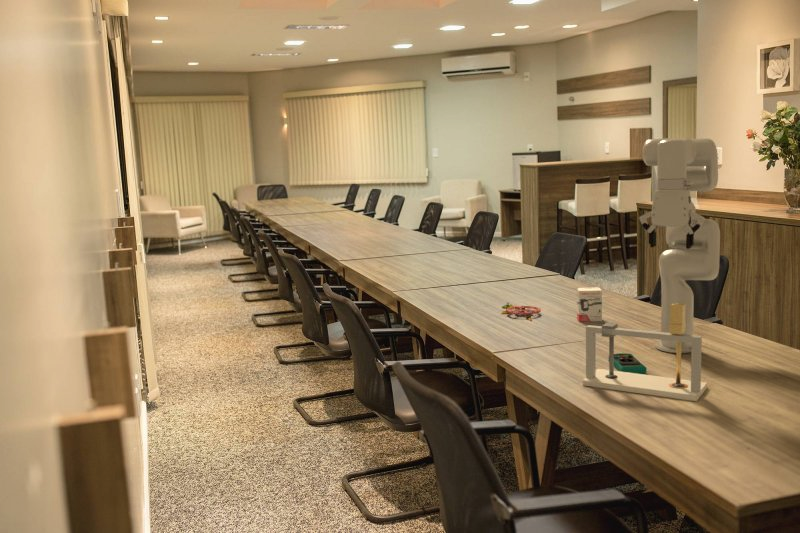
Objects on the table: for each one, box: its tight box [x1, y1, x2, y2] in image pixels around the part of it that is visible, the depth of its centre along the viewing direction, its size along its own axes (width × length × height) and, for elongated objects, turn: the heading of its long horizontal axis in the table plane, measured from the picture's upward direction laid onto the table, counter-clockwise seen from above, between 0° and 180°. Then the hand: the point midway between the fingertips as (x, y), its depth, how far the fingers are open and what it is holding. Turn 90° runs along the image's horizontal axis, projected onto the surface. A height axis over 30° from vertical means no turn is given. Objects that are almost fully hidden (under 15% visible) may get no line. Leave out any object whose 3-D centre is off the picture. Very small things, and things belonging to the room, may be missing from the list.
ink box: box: [576, 286, 603, 323], centre depth 291 cm, size 8×5×12 cm, turn 86°
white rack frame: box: [582, 321, 708, 402], centre depth 213 cm, size 12×30×17 cm, turn 57°
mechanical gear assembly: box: [501, 301, 541, 322], centre depth 309 cm, size 30×4×15 cm
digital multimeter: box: [614, 352, 647, 375], centre depth 232 cm, size 7×15×3 cm, turn 0°
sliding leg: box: [670, 303, 686, 384], centre depth 206 cm, size 4×3×22 cm
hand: (670, 247), depth 219 cm, fingers open, 9 cm apart
